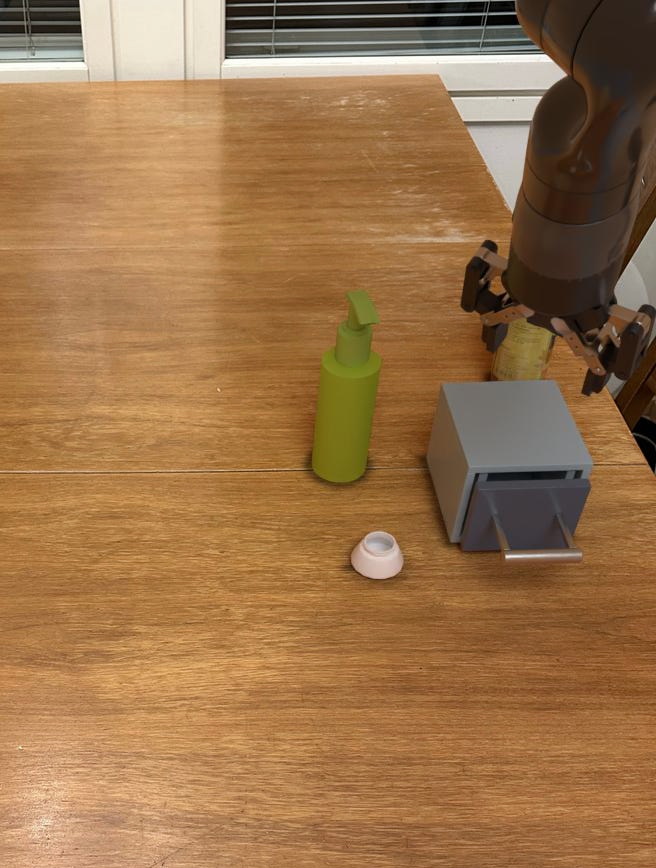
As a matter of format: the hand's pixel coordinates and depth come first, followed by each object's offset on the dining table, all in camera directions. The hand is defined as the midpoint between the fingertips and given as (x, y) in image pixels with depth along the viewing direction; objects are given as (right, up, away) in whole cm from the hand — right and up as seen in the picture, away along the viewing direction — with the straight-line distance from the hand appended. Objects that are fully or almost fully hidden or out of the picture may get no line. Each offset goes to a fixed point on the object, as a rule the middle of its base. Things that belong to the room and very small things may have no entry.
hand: (542, 365), depth 80 cm
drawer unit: (+3, -8, +22) cm, 24 cm away
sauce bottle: (+10, +8, +36) cm, 38 cm away
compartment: (+3, -11, +18) cm, 21 cm away
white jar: (-10, -15, +16) cm, 25 cm away
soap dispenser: (-12, -4, +26) cm, 29 cm away
